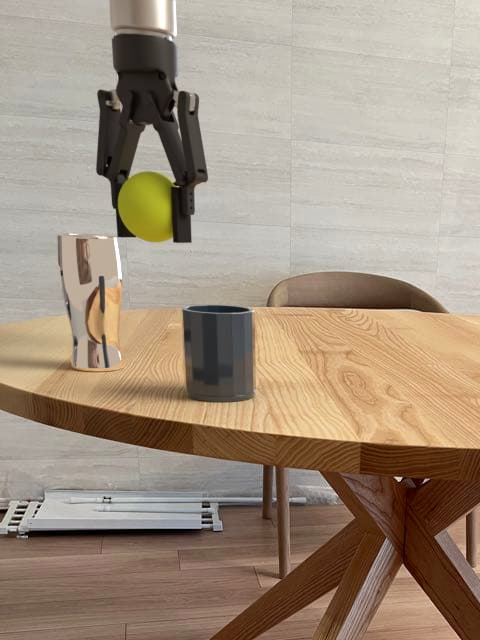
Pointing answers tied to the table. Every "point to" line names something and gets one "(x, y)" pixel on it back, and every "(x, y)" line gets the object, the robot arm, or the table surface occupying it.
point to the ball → (147, 206)
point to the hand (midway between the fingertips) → (154, 239)
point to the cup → (219, 352)
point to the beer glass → (92, 298)
